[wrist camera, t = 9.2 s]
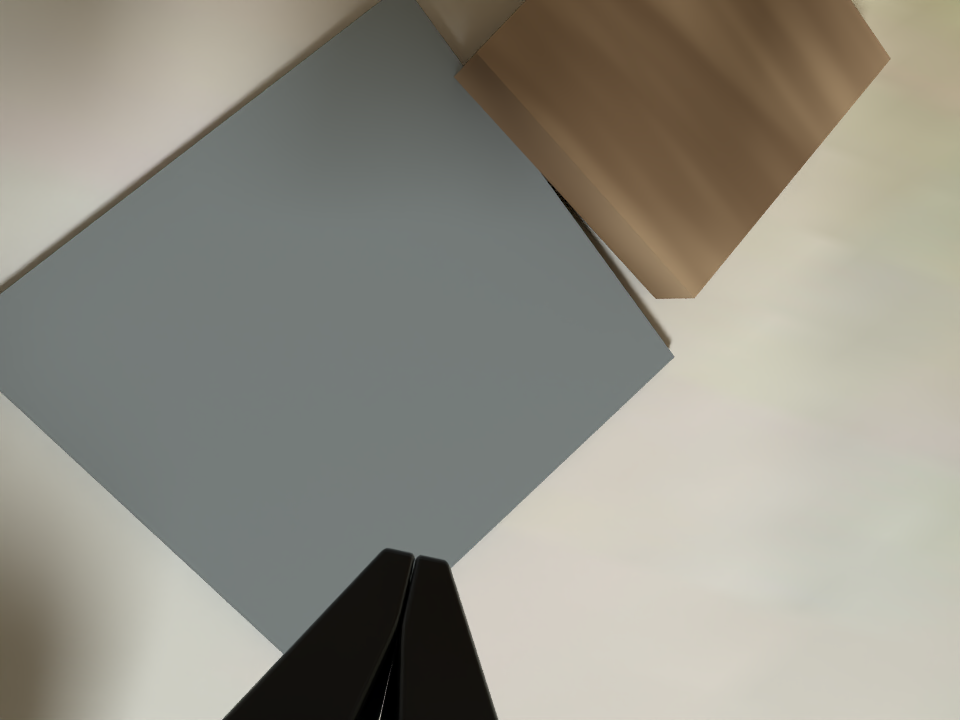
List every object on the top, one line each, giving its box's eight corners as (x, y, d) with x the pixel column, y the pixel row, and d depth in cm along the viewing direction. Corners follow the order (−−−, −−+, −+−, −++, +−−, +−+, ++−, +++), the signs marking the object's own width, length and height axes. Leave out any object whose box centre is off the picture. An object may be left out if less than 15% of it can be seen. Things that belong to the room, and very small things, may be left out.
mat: (321, 681, 18) (322, 689, 18) (-50, 336, 15) (-58, 338, 15) (667, 355, 20) (674, 356, 20) (400, -10, 17) (403, -17, 17)
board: (694, 298, 18) (890, 58, 19) (475, 52, 16) (715, -199, 17) (656, 298, 20) (838, 78, 21) (453, 77, 17) (673, -153, 19)
